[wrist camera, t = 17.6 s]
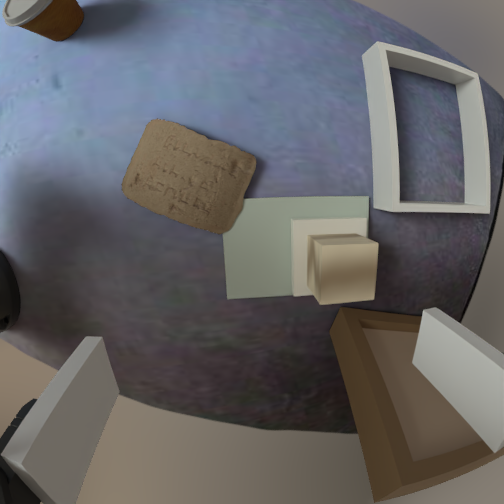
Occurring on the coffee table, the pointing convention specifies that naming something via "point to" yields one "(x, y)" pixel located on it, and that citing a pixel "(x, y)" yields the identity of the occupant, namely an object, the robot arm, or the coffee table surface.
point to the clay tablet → (188, 176)
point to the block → (341, 267)
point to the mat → (274, 240)
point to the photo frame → (400, 407)
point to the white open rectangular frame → (386, 129)
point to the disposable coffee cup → (45, 17)
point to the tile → (316, 227)
